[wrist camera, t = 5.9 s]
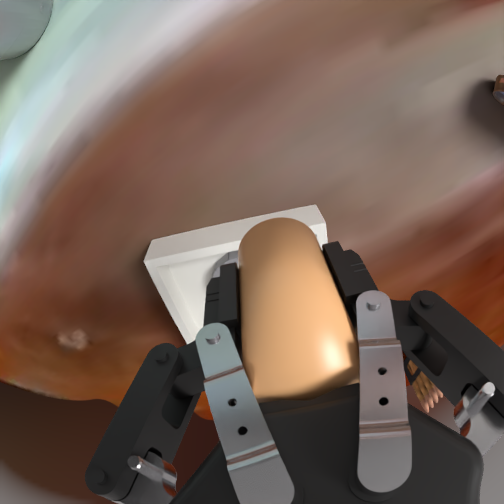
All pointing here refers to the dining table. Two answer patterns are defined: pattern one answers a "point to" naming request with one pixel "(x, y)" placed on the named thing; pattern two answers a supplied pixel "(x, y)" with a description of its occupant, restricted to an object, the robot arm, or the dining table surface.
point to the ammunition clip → (421, 385)
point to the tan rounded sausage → (292, 315)
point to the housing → (207, 262)
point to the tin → (499, 89)
